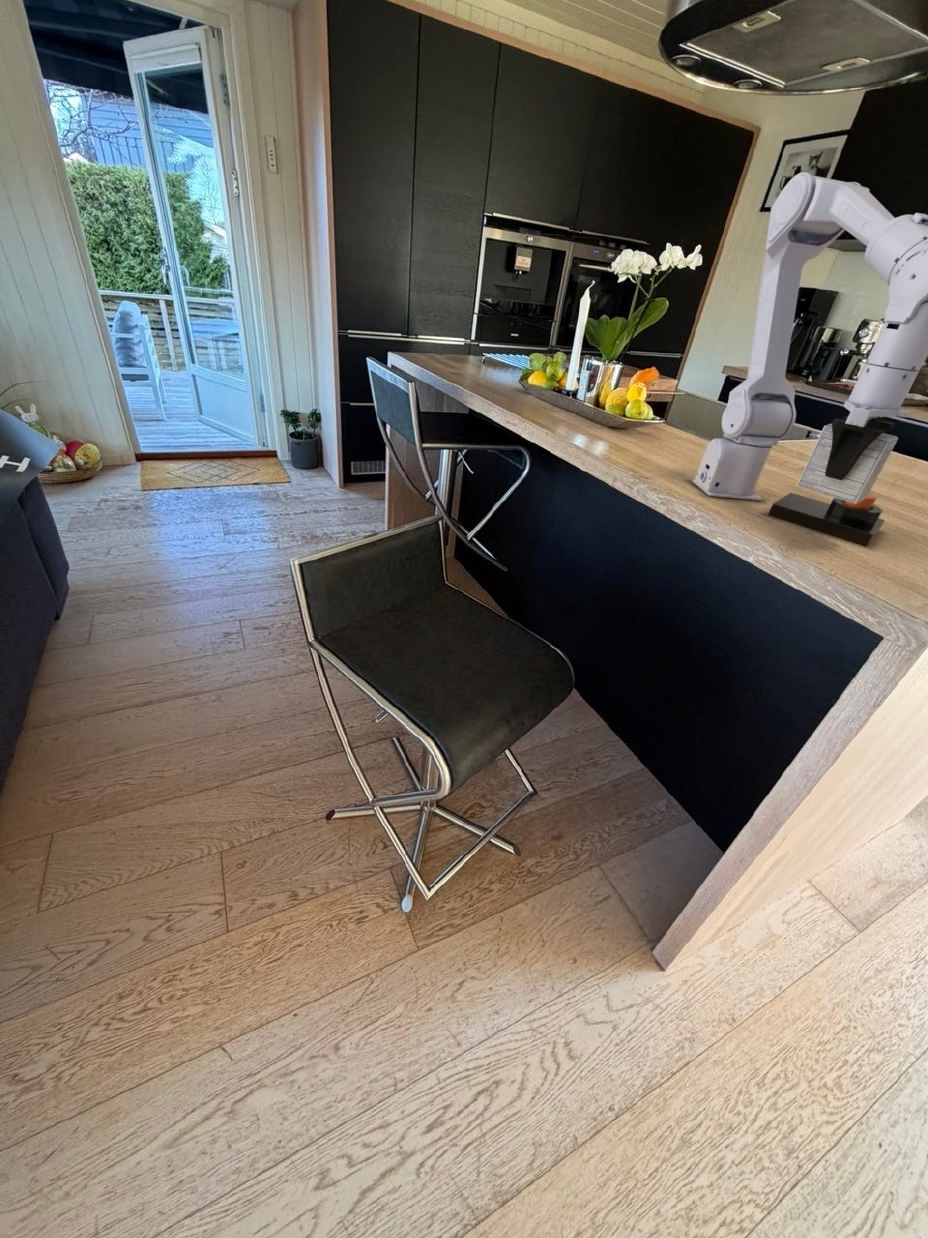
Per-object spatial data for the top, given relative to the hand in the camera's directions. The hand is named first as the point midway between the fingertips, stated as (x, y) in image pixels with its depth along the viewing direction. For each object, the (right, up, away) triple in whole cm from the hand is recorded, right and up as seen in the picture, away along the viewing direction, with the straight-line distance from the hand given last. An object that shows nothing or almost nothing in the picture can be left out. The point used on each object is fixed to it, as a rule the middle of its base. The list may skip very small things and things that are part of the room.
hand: (837, 474), depth 72 cm
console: (+6, -5, +11) cm, 13 cm away
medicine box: (0, -2, +1) cm, 3 cm away
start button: (+9, -3, +8) cm, 12 cm away
